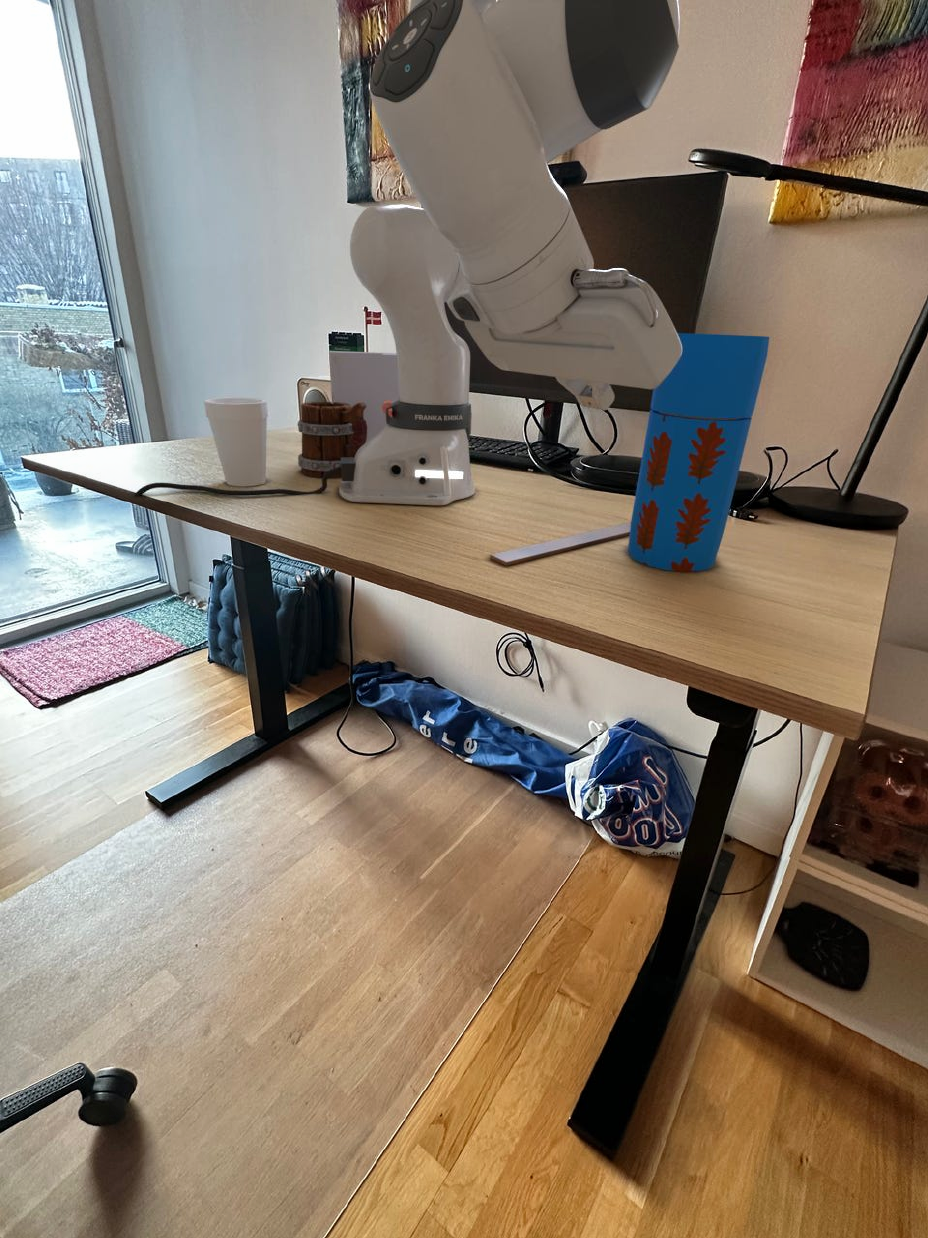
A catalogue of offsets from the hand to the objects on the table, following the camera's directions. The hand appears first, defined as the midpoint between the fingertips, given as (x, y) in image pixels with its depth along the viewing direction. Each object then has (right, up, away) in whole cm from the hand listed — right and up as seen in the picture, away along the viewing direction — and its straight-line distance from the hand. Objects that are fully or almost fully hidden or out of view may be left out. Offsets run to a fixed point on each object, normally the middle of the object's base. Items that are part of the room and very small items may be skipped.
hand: (598, 403), depth 55 cm
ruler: (+3, -10, +22) cm, 25 cm away
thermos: (+13, -13, +18) cm, 26 cm away
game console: (-26, +14, +68) cm, 74 cm away
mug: (-36, +7, +53) cm, 64 cm away
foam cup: (-50, +3, +44) cm, 66 cm away
